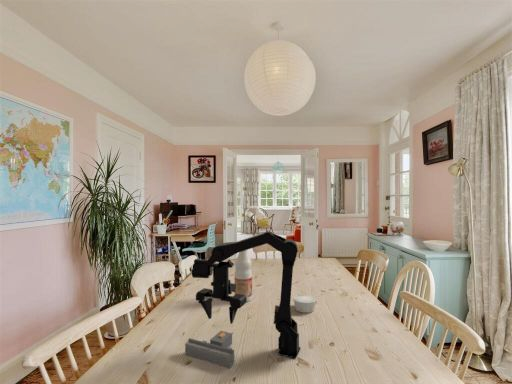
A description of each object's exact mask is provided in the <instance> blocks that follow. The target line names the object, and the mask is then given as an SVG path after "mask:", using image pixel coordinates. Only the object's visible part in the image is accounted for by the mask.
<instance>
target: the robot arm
mask: <svg viewBox="0 0 512 384" xmlns="http://www.w3.org/2000/svg"><path fill="white" fill-rule="evenodd" d="M263 245H269V246H271V248H273V249H275V250H277V251H278V252H280V253H281V254H280V255H281V262H282V273H281V274H282V275H281V289H280V298H279V299H280V301H279V304H278V305H277V304H276V305H275V306H274V315H273V325H275V327H274V328H275V330H277V332H278V333H279V336H278V346H277V347H278V355H281V356H285V357H288V358H292V359H297V357H298V356H299V352H300V351H301V347H300V333H299V329H298V322H297V321H295V319H293V316H292V308H291V298H292V285H293V284H292V283H293V273H294V271H293V270H294V266H295V263H296V260H297V255H298V244H297V242H296V241H295V240H294V239H292V238H285V237H283V236H280V235H278V234H275V233H273V232H272V231H269V230H267V231H264V232H262V233H259V234H257V235H256V234H255V235H252V236H250V237H247V238H244V239H241V240H238V241H232V242H231V241H230V242H221V243H219V244H217V245H216V246H214V247H213V248H212V249H211V252H210V253H211V255H210V257H209V258H207V259H201V258H196V259H194V260H193V264H192V269H191V276H192V278H194V279H209V278H210V276H211V277H212V282H210V286H212V289H211V288H202V289H200V290H198V291H197V292H196V293H195V301H198V303H199V304H200V305H201V307H202V308H203V310H204V312H205V314H206V315H207V318H208V319H209V320H210V319H212V315H213V313H212V312H213V309H212V306H213V305H212V303H213V300H218V301H223V302H229V307H228V310H229V311H228V313H229V314H228V315H229V322H230V324H231V325H232V324H233V323H234V320H235V318H236V314H237V312H238V309H240V308H242V307H243V306H244V305H245V304H246V303H248V302H247V298H246V296H245V295H242V294H235V290H236V284H235V283H233V282H232V283H231V279H229V277H230V276H229V268H230V269H232V268H233V267H234V266H235V262H233V261H232V260H231V259H229V258H231V257H233V256H235V255H236V254H239V252H242V251H245V250H247V251H248V250H250V249H255V248H257V247H260V246H263ZM227 259H228V260H227ZM225 260H227V261H225ZM232 293H234V294H233V295H232V296H231V294H232Z"/></svg>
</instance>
